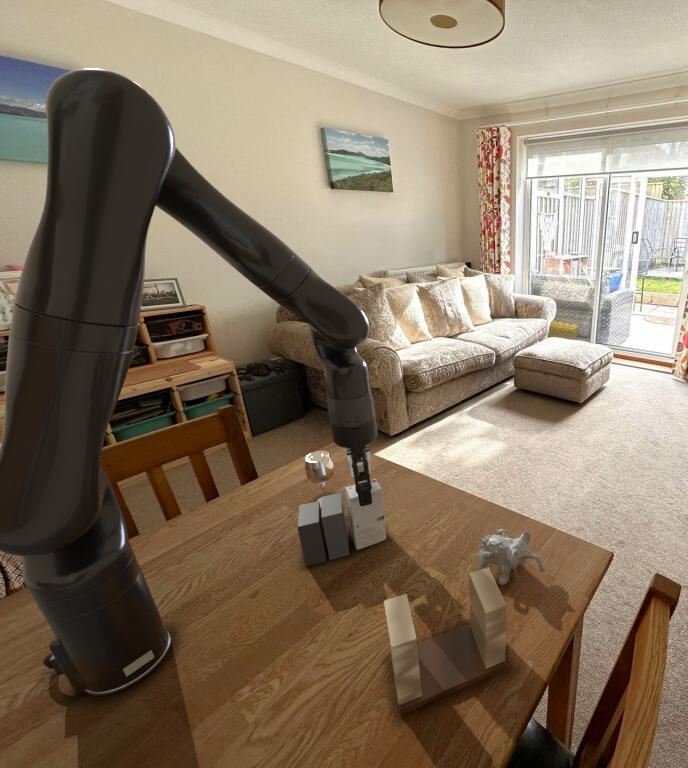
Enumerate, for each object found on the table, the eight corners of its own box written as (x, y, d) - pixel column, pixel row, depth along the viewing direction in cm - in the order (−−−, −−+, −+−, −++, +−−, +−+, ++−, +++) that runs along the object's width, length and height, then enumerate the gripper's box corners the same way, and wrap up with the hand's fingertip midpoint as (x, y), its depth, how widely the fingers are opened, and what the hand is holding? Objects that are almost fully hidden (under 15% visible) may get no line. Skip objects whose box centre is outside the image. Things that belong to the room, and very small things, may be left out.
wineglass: (345, 499, 92) (337, 454, 88) (322, 513, 88) (313, 466, 83) (329, 490, 95) (321, 446, 91) (306, 504, 90) (297, 458, 86)
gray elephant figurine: (481, 550, 79) (480, 518, 76) (542, 553, 78) (544, 522, 76) (474, 590, 70) (474, 556, 67) (543, 594, 70) (545, 560, 67)
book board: (400, 715, 52) (391, 651, 48) (391, 658, 59) (383, 597, 54) (506, 669, 58) (508, 608, 53) (487, 622, 65) (487, 564, 60)
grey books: (306, 566, 74) (296, 523, 70) (307, 543, 80) (298, 501, 76) (349, 554, 77) (342, 512, 73) (347, 532, 82) (341, 492, 79)
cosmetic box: (356, 551, 78) (348, 499, 73) (351, 537, 81) (343, 487, 77) (388, 539, 81) (382, 489, 77) (381, 525, 85) (375, 477, 80)
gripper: (329, 402, 76) (341, 475, 82) (330, 437, 64) (344, 519, 70) (370, 396, 78) (379, 467, 85) (379, 429, 66) (389, 508, 72)
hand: (364, 490), depth 77 cm, fingers open, 8 cm apart
